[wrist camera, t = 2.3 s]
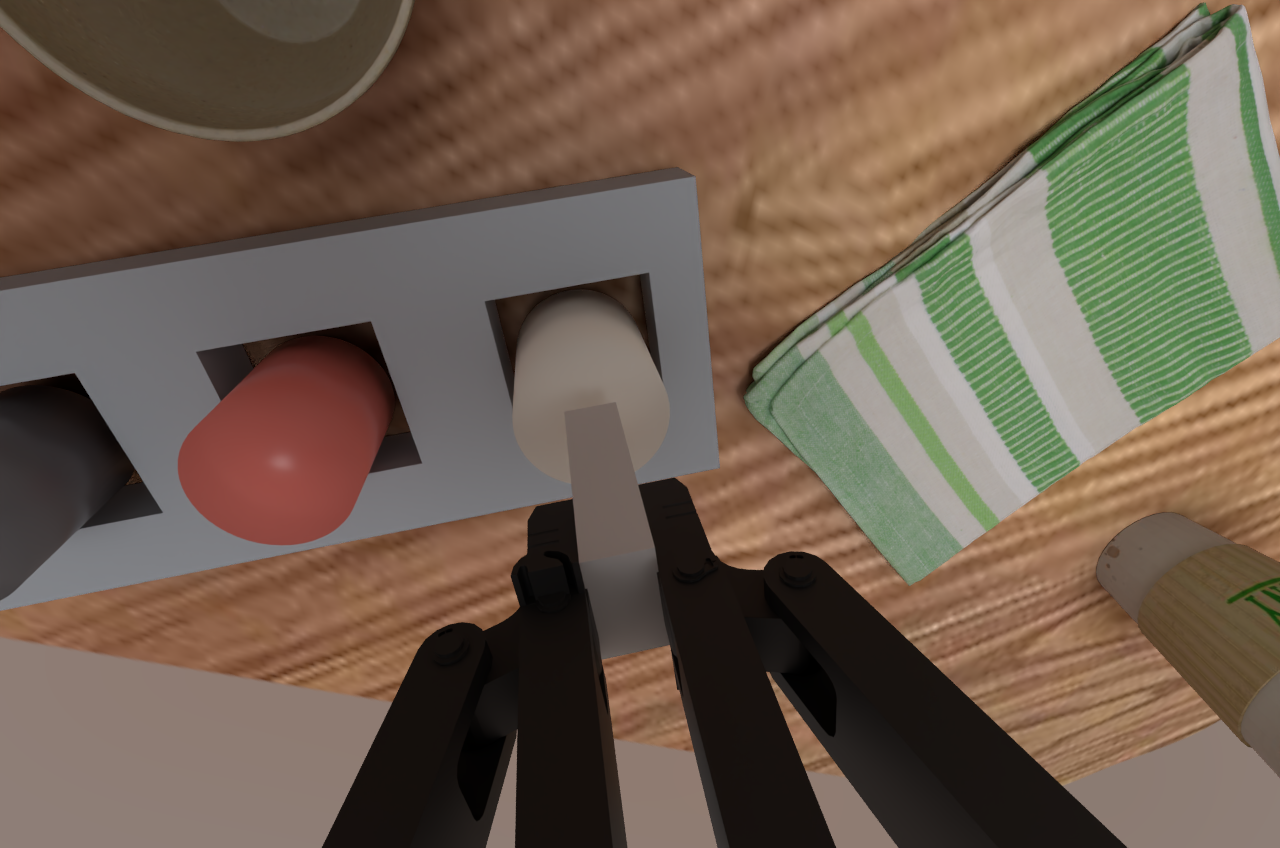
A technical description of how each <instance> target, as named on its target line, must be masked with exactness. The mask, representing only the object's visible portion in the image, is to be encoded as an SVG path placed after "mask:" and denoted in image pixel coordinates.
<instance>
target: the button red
mask: <svg viewBox="0 0 1280 848" xmlns="http://www.w3.org/2000/svg"><path fill="white" fill-rule="evenodd" d="M394 408H395V397H394V391H393V388H392V384H391V382H390V380H389V378H388V376H387V374H386V373H385V371H384V370H383V368H382V367H381V366H380V365H379V363H378V362H377V361H376V360H375V359H374V358H372V357H371V356H370V355H369V354H367V353H366V352H365V351H363V350H362V349H360V348H358V347H357V346H355V345H353V344H350V343H348V342H346V341H343V340H340V339H336V338H332V337H325V336H305V337H299V338H295V339H292V340H289V341H287V342H284V343H283V344H281V345H279V346H277V347H276V348H275V349H274V350H272V351H271V352H270V353H269V354H268V355H267V356H266V357H265V358H264V359H263V360H262V361H261V362H260V363H259V364H258V365H257V366H256V367H255V368H254V369H253V370H252V371H251V372H250V373H249V374H248V375H247V376H246V377H245V378H244V379H243V380H242V381H241V382H240V383H239V384H238V385H237V386H236V387H235V388H234V389H233V390H232V391H231V392H230V393H229V394H228V395H227V396H226V397H225V398H224V399H223V400H222V401H221V402H220V403H219V404H218V405H217V406H216V407H215V408H214V409H213V410H212V411H211V412H210V413H209V414H208V415H207V416H206V417H205V418H203V419H202V420H201V421H200V422H199V423H198V424H197V425H196V426H195V427H194V429H193V430H192V431H191V432H190V433H189V434H188V435H187V437H186V438H185V440H184V442H183V444H182V446H181V449H180V451H179V456H178V475H179V480H180V483H181V486H182V488H183V490H184V492H185V494H186V496H187V498H188V499H189V501H190V502H191V503H192V505H193V506H194V507H195V508H196V509H197V510H198V512H199V513H200V514H202V515H203V516H204V517H205V518H206V519H207V520H208V521H210V522H211V523H213V524H214V525H215V526H217V527H219V528H220V529H222V530H224V531H226V532H228V533H230V534H232V535H234V536H237V537H239V538H242V539H245V540H248V541H252V542H256V543H261V544H268V545H296V544H303V543H307V542H311V541H314V540H317V539H319V538H322V537H324V536H326V535H328V534H330V533H331V532H333V531H334V530H336V529H337V528H338V527H339V526H340V525H341V524H343V523H344V522H345V520H346V519H347V518H348V517H349V515H350V514H351V512H352V510H353V508H354V506H355V504H356V501H357V499H358V497H359V494H360V492H361V490H362V487H363V485H364V483H365V480H366V478H367V476H368V473H369V471H370V469H371V466H372V464H373V462H374V459H375V457H376V455H377V453H378V450H379V448H380V446H381V443H382V441H383V439H384V436H385V434H386V432H387V429H388V427H389V425H390V422H391V420H392V417H393V414H394Z"/></svg>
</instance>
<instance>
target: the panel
mask: <svg viewBox="0 0 1280 848" xmlns="http://www.w3.org/2000/svg"><path fill="white" fill-rule="evenodd" d="M638 274H640V280H641V287H642V294H643V302H644V309H645V317H646V324H647V332H648V339H649V347H650V354H651V358H652V360H653V362H654V364H655V367H656V369H657V371H658V373H659V375H660V378H661V380H662V382H663V384H664V387H665V389H666V392H667V395H668V399H669V404H670V419H669V425H668V430H667V433H666V435H665V438H664V440H663V442H662V444H661V446H660V448H659V449H658V450H657V452H656V453H655V455H654V456H653V457H652V458H651V459H650V460H649V461H648V462H647V463H646V464H645V465H644V466H642V467H641V468H640V469H638V470H637V471H635V475H636V479H637V483H638V484H642V483H647V482H652V481H657V480H662V479H667V478H672V477H677V476H682V475H687V474H692V473H697V472H702V471H707V470H712V469H717V468H720V464H719V452H718V440H717V428H716V416H715V404H714V392H713V380H712V368H711V356H710V344H709V332H708V320H707V308H706V296H705V284H704V272H703V260H702V248H701V236H700V224H699V212H698V200H697V188H696V176H694V175H692V174H690V173H688V172H686V171H684V170H682V169H680V168H678V167H675V168H669V169H663V170H657V171H651V172H645V173H639V174H632V175H626V176H620V177H614V178H608V179H602V180H596V181H590V182H583V183H577V184H571V185H565V186H559V187H553V188H547V189H541V190H534V191H528V192H522V193H516V194H510V195H504V196H498V197H492V198H485V199H479V200H473V201H467V202H461V203H455V204H449V205H442V206H436V207H430V208H424V209H418V210H412V211H406V212H400V213H393V214H387V215H381V216H375V217H369V218H363V219H357V220H351V221H344V222H338V223H332V224H326V225H320V226H314V227H308V228H302V229H295V230H289V231H283V232H277V233H271V234H265V235H259V236H252V237H246V238H240V239H234V240H228V241H222V242H216V243H210V244H203V245H197V246H191V247H185V248H179V249H173V250H167V251H161V252H154V253H148V254H142V255H136V256H130V257H124V258H118V259H112V260H105V261H99V262H93V263H87V264H81V265H75V266H69V267H62V268H56V269H50V270H44V271H38V272H32V273H26V274H20V275H13V276H7V277H1V278H0V386H2V385H8V384H14V383H20V382H25V381H31V380H37V379H43V378H48V377H54V376H60V375H66V374H71V373H75V374H76V376H77V377H78V379H79V380H80V382H81V383H82V385H83V387H84V388H85V390H86V391H87V393H88V395H89V396H90V398H91V399H92V401H93V402H94V404H95V406H96V407H97V409H98V410H99V412H100V414H101V415H102V417H103V418H104V420H105V421H106V423H107V425H108V426H109V428H110V429H111V431H112V433H113V434H114V436H115V437H116V439H117V441H118V442H119V444H120V445H121V447H122V448H123V450H124V452H125V453H126V455H127V456H128V458H129V460H130V461H131V463H132V464H133V466H134V467H135V469H136V471H137V472H138V474H139V475H140V477H141V479H142V480H143V482H142V483H137V484H132V485H126V486H123V487H122V488H121V489H120V490H119V491H118V492H117V493H116V494H115V495H114V496H113V497H112V498H111V499H110V500H109V501H108V502H107V503H106V504H105V505H104V506H103V507H101V508H100V509H99V510H98V511H97V512H96V513H95V514H94V515H93V516H92V517H91V518H90V519H89V520H88V521H87V522H86V523H85V524H84V525H83V526H82V527H81V528H80V529H79V530H78V531H77V532H76V533H74V534H73V535H72V536H71V537H70V538H69V539H68V540H67V541H66V542H65V543H64V544H63V545H62V546H61V547H60V548H59V549H58V550H57V551H56V552H55V553H54V554H53V555H52V556H51V557H50V558H49V559H48V560H46V561H45V562H44V563H43V564H42V565H41V566H40V567H39V568H38V569H37V570H36V571H35V572H34V573H33V574H32V575H31V576H30V577H29V578H28V579H27V580H26V581H25V582H24V583H23V584H22V585H21V586H20V587H18V588H17V589H16V590H15V591H14V592H13V593H12V594H10V595H9V596H8V597H6V598H4V599H2V600H0V611H1V610H6V609H11V608H16V607H21V606H26V605H31V604H37V603H42V602H47V601H52V600H57V599H62V598H67V597H72V596H77V595H82V594H87V593H92V592H97V591H102V590H107V589H112V588H117V587H122V586H127V585H132V584H137V583H142V582H147V581H152V580H158V579H163V578H168V577H173V576H178V575H183V574H188V573H193V572H198V571H203V570H208V569H213V568H218V567H223V566H228V565H233V564H238V563H243V562H248V561H253V560H258V559H263V558H268V557H273V556H279V555H284V554H289V553H294V552H299V551H304V550H309V549H314V548H319V547H324V546H329V545H334V544H339V543H344V542H349V541H354V540H359V539H364V538H369V537H374V536H379V535H384V534H389V533H394V532H400V531H405V530H410V529H415V528H420V527H425V526H430V525H435V524H440V523H445V522H450V521H455V520H460V519H465V518H470V517H475V516H480V515H485V514H490V513H495V512H500V511H505V510H510V509H515V508H521V507H526V506H531V505H536V504H541V503H546V502H551V501H556V500H561V499H566V498H571V497H573V496H572V486H571V484H570V483H566V482H562V481H559V480H556V479H554V478H552V477H550V476H548V475H546V474H545V473H543V472H541V471H540V470H539V469H537V468H536V467H535V466H534V465H533V464H532V463H531V462H530V461H529V460H528V459H527V458H526V456H525V455H524V454H523V452H522V451H521V449H520V447H519V445H518V443H517V441H516V438H515V435H514V430H513V424H512V411H513V395H514V379H515V378H514V374H513V370H512V366H511V362H510V358H509V354H508V350H507V346H506V342H505V338H504V335H503V331H502V327H501V323H500V319H499V315H498V311H497V307H496V303H495V299H501V298H507V297H512V296H518V295H524V294H529V293H535V292H541V291H547V290H552V289H558V288H564V287H570V286H575V285H581V284H587V283H592V282H598V281H604V280H610V279H615V278H621V277H627V276H633V275H638ZM369 321H371V322H372V325H373V328H374V331H375V334H376V336H377V339H378V342H379V345H380V347H381V350H382V353H383V356H384V358H385V361H386V364H387V367H388V370H389V372H390V375H391V378H392V381H393V383H394V386H395V389H396V392H397V395H398V397H399V400H400V403H401V406H402V408H403V411H404V414H405V417H406V419H407V422H408V425H409V428H410V431H411V432H409V433H403V434H398V435H393V436H387V437H384V439H383V441H382V443H381V446H380V448H379V450H378V453H377V455H376V457H375V459H374V462H373V464H372V466H371V469H370V471H369V473H368V476H367V478H366V480H365V483H364V485H363V487H362V490H361V492H360V494H359V497H358V499H357V501H356V504H355V506H354V508H353V510H352V512H351V514H350V515H349V517H348V518H347V519H346V520H345V522H344V523H343V524H341V525H340V526H339V527H338V528H337V529H336V530H334V531H333V532H331V533H330V534H328V535H326V536H324V537H322V538H319V539H317V540H314V541H311V542H307V543H303V544H296V545H268V544H261V543H256V542H252V541H248V540H245V539H242V538H239V537H237V536H234V535H232V534H230V533H228V532H226V531H224V530H222V529H220V528H219V527H217V526H215V525H214V524H213V523H211V522H210V521H208V520H207V519H206V518H205V517H204V516H203V515H202V514H200V513H199V512H198V510H197V509H196V508H195V507H194V506H193V505H192V503H191V502H190V501H189V499H188V498H187V496H186V494H185V492H184V490H183V488H182V486H181V483H180V480H179V475H178V456H179V451H180V449H181V446H182V444H183V442H184V440H185V438H186V437H187V435H188V434H189V433H190V432H191V431H192V430H193V429H194V427H195V426H196V425H197V424H198V423H199V422H200V421H201V420H202V419H203V418H205V417H206V416H207V415H208V414H209V413H210V412H211V411H212V410H213V409H214V408H215V407H216V406H217V405H218V404H219V403H220V402H221V401H222V400H223V399H224V398H225V397H226V396H227V395H228V394H229V393H230V392H231V391H232V390H233V389H234V388H235V387H236V386H237V385H238V384H239V383H240V382H241V381H242V380H243V379H244V378H245V377H246V376H247V375H248V374H249V373H250V372H251V371H252V370H253V369H254V368H253V366H252V364H251V362H250V360H249V358H248V356H247V354H246V352H245V350H244V347H243V345H242V344H243V343H249V342H255V341H260V340H266V339H272V338H277V337H283V336H289V335H295V334H300V333H306V332H312V331H318V330H323V329H329V328H335V327H340V326H346V325H352V324H358V323H363V322H369Z"/></svg>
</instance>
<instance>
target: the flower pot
mask: <svg viewBox="0 0 1280 848" xmlns="http://www.w3.org/2000/svg"><path fill="white" fill-rule="evenodd" d="M414 2H415V0H0V26H1V27H2V28H3V29H4V30H5V31H6V32H7V33H8V34H9V35H10V36H11V37H12V38H13V39H14V40H15V41H16V42H17V43H19V44H20V45H21V46H22V47H23V48H25V49H26V50H27V51H28V52H29V53H31V54H32V55H33V56H34V57H35V58H36V59H37V60H39V61H40V62H41V63H42V64H44V65H45V66H46V67H47V68H49V69H50V70H51V71H53V72H54V73H56V74H57V75H58V76H60V77H61V78H63V79H64V80H65V81H67V82H68V83H70V84H72V85H73V86H75V87H76V88H78V89H79V90H81V91H82V92H84V93H85V94H87V95H89V96H91V97H92V98H94V99H96V100H97V101H99V102H101V103H103V104H105V105H107V106H109V107H111V108H112V109H115V110H117V111H119V112H121V113H123V114H125V115H127V116H129V117H132V118H134V119H137V120H140V121H142V122H144V123H147V124H150V125H152V126H155V127H158V128H161V129H165V130H168V131H171V132H175V133H179V134H184V135H189V136H193V137H197V138H202V139H209V140H221V141H259V140H268V139H274V138H280V137H284V136H288V135H292V134H295V133H299V132H302V131H304V130H307V129H309V128H312V127H314V126H316V125H319V124H321V123H323V122H325V121H326V120H328V119H330V118H332V117H333V116H335V115H336V114H338V113H340V112H341V111H343V110H344V109H345V108H347V107H348V106H350V105H351V104H352V103H353V102H355V101H356V100H357V99H358V98H360V97H361V96H362V95H363V94H364V93H365V92H366V91H367V90H368V89H369V88H370V87H371V86H372V85H373V84H374V83H375V82H376V80H377V79H378V78H379V77H380V75H381V74H382V73H383V71H384V70H385V68H386V67H387V65H388V64H389V62H390V61H391V59H392V58H393V56H394V54H395V52H396V51H397V49H398V47H399V45H400V42H401V40H402V38H403V36H404V34H405V31H406V28H407V25H408V23H409V20H410V17H411V14H412V10H413V6H414Z"/></svg>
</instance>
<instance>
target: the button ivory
mask: <svg viewBox="0 0 1280 848" xmlns="http://www.w3.org/2000/svg"><path fill="white" fill-rule="evenodd" d="M613 402H616V405H617V408H618V412H619V416H620V419H621V423H622V427H623V431H624V434H625V438H626V442H627V446H628V449H629V453H630V457H631V460H632V464H633V468H634V472H635V471H637V470H638V469H640V468H641V467H642V466H644V465H645V464H646V463H647V462H648V461H649V460H650V459H651V458H652V457H653V456H654V455H655V453H656V452H657V450H658V449H659V448H660V446H661V444H662V442H663V440H664V438H665V435H666V433H667V430H668V425H669V419H670V404H669V399H668V395H667V392H666V389H665V387H664V384H663V382H662V380H661V378H660V375H659V373H658V371H657V369H656V367H655V364H654V362H653V360H652V358H651V355H650V353H649V351H648V349H647V346H646V344H645V342H644V340H643V338H642V335H641V333H640V331H639V329H638V326H637V324H636V322H635V320H634V319H633V317H632V316H631V314H630V313H629V311H628V310H627V309H626V308H625V307H624V306H623V305H621V304H620V303H619V302H618V301H616V300H615V299H613V298H611V297H610V296H608V295H605V294H603V293H600V292H596V291H592V290H585V289H575V290H567V291H563V292H559V293H557V294H554V295H552V296H550V297H548V298H546V299H544V300H543V301H542V302H540V303H539V304H538V305H537V306H536V307H534V308H533V309H532V310H531V312H530V313H529V314H528V315H527V317H526V318H525V320H524V322H523V324H522V326H521V328H520V331H519V334H518V338H517V347H516V363H515V379H514V395H513V411H512V424H513V430H514V435H515V438H516V441H517V443H518V445H519V447H520V449H521V451H522V452H523V454H524V455H525V456H526V458H527V459H528V460H529V461H530V462H531V463H532V464H533V465H534V466H535V467H536V468H537V469H539V470H540V471H541V472H543V473H545V474H546V475H548V476H550V477H552V478H554V479H556V480H559V481H562V482H566V483H570V484H571V475H570V465H569V455H568V445H567V435H566V424H565V414H564V412H565V411H570V410H576V409H581V408H586V407H592V406H597V405H602V404H607V403H613Z"/></svg>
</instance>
